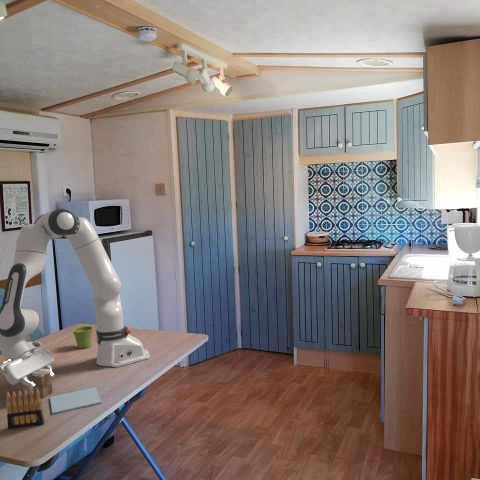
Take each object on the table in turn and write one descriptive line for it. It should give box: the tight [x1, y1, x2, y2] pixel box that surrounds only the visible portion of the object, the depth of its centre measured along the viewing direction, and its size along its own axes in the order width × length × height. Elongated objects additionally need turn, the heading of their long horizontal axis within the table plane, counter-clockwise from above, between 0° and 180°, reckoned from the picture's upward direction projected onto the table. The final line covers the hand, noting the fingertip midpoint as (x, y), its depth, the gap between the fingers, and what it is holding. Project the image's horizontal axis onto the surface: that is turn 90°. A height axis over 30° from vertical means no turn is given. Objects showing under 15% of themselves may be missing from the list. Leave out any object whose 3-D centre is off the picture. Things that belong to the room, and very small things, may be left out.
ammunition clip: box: [5, 388, 45, 430], centre depth 157 cm, size 11×2×12 cm, turn 100°
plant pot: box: [72, 325, 94, 349], centre depth 233 cm, size 9×9×9 cm
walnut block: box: [31, 369, 53, 399], centre depth 181 cm, size 4×4×9 cm
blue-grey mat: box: [49, 386, 102, 415], centre depth 174 cm, size 16×14×1 cm
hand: (43, 382), depth 181 cm, fingers open, 8 cm apart
